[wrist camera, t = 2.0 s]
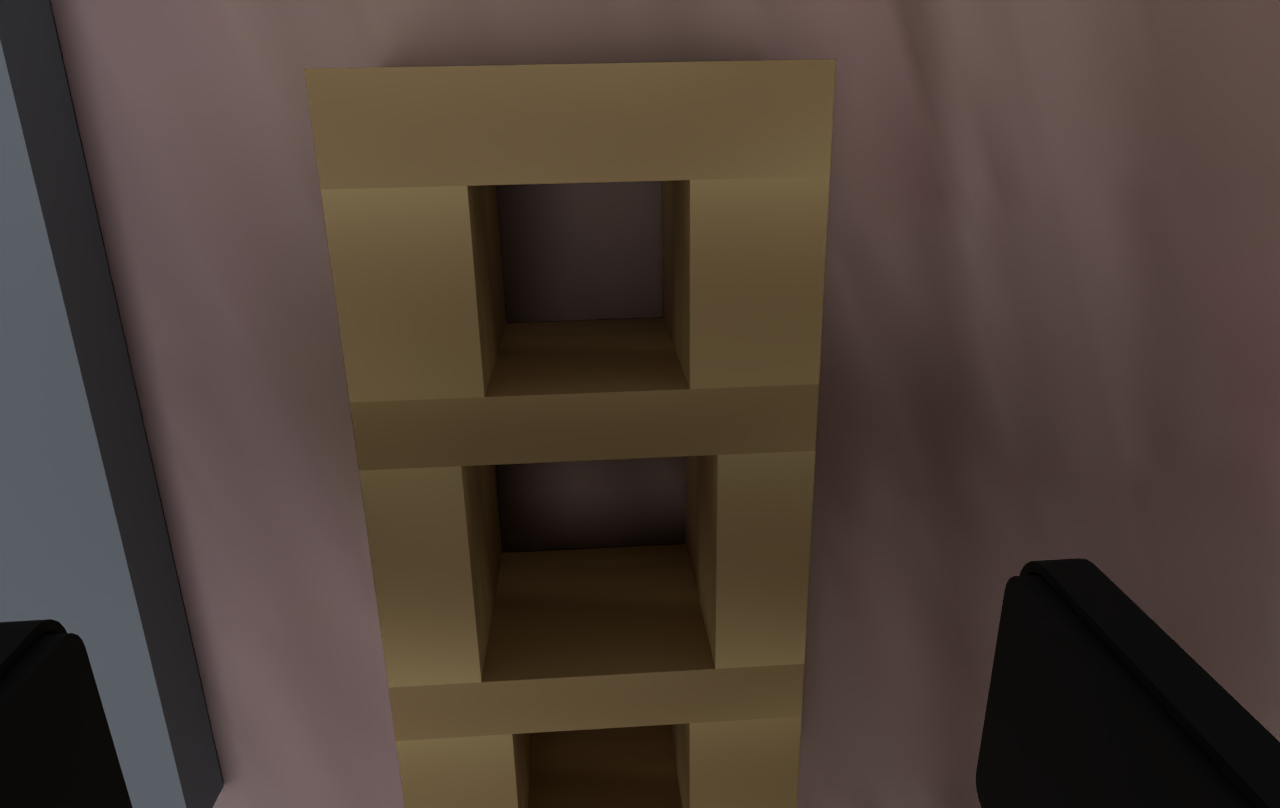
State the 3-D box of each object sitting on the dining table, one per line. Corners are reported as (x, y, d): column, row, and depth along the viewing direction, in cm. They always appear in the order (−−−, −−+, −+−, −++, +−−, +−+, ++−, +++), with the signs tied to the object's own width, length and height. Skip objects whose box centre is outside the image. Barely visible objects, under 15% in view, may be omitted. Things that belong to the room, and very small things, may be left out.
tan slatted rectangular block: (749, 752, 19) (791, 913, 16) (453, 771, 19) (423, 939, 15) (769, 65, 15) (835, 59, 11) (375, 72, 14) (304, 68, 11)
